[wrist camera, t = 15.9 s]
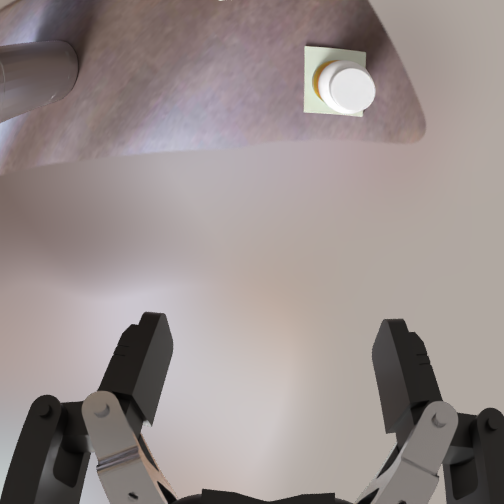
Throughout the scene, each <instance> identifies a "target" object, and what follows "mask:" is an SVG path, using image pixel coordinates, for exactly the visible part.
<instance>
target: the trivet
mask: <svg viewBox="0 0 504 504" xmlns="http://www.w3.org/2000/svg"><path fill="white" fill-rule="evenodd" d="M331 60H347V61H352V62H355V63H358V64H359V65H361V66H363V67H364V68H366V52H360V51H352V50H344V49H335V48H324V47H310V46H304V111H303V112H308V113H324V114H338V115H349V116H359V117H363V110H362V111H360V112H357V113H354V114H343V113H339V112H337V111H335V110H333V109H331V108H330V107H329V106H327V105H326V104H325V103H324V102H323V101H322V100H321V99H319V97H318V96H317V95H316V94H315V92H314V90H313V87H312V76H313V73H314V71H315V69H316V68H317V67H318V66H319V65H320V64H322V63H324V62H327V61H331Z"/></svg>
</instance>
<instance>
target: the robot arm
mask: <svg viewBox="0 0 504 504" xmlns="http://www.w3.org/2000/svg"><path fill="white" fill-rule="evenodd" d="M77 73H78V60H77V56H76V53H75V51H74V49H73V48H72V47H71V46H70V45H69V44H68V43H66V42H64V41H59V40H55V41H40V42H29V43H20V44H13V45H6V46H0V123H1V122H4V121H6V120H8V119H11V118H13V117H16V116H18V115H21V114H23V113H26V112H28V111H31V110H34V109H36V108H39V107H42V106H45V105H48V104H51V103H54V102H56V101H59V100H61V99H63V98H64V97H65V96H66V95H67V94H68V93H69V92H70V91H71V89H72V87H73V86H74V84H75V81H76V78H77ZM117 345H118V346H117V347H116V349H115V351H114V353H113V354H114V355H113V356H112V358H111V360H110V363H109V365H108V368H107V370H106V372H105V374H104V377H103V379H102V382H101V384H100V387H99V389H98V390H97V392H94V393H92V394H90V395H89V396H88V397H87V398H86V399H85V400H84V401H80V402H66V403H60V401H59V400H58V399H57V398H56V397H54V396H51V395H43V396H40V397H38V398H37V399H36V400H35V401H34V402H33V403H32V405H31V407H30V410H29V412H28V415H27V418H26V420H25V423H24V425H23V428H22V431H21V434H20V436H19V439H18V442H17V445H16V448H15V451H14V454H13V457H12V461H11V463H10V467H9V470H8V474H7V477H6V480H5V484H4V487H3V491H2V495H1V499H0V504H79V502H80V497H81V493H82V488H83V484H84V479H85V475H86V471H87V467H88V463H89V459H90V455H91V452H95V454H96V456H97V459H98V465H97V467H96V469H97V473H98V476H99V479H100V481H101V483H102V486H103V488H104V491H105V493H106V495H107V498H108V499H109V502H110V504H353V503H350V502H348V501H345V500H341V499H337V498H335V493H324V494H304V495H303V494H302V495H298V496H294V497H290V498H286V499H281V500H276V501H270V502H267V501H263V500H259V499H255V498H252V497H248V496H245V495H242V494H238V493H235V492H226V491H217V490H207V489H202V494H196V495H191V496H187V497H184V498H181V499H178V497H177V495H176V494H175V492H174V490H173V489H172V487H171V486H170V484H169V483H168V481H167V480H166V479H165V477H164V475H163V474H162V472H161V470H160V469H159V467H158V465H157V463H156V461H155V459H154V457H153V455H152V453H151V451H150V449H149V447H148V446H147V443H146V442H145V439H144V437H143V435H142V434H141V429H142V425H146V426H150V427H152V424H153V421H154V417H155V413H156V410H157V406H158V402H159V399H160V395H161V391H162V388H163V385H164V381H165V378H166V374H167V370H168V367H169V364H170V360H171V357H172V353H173V339H172V336H171V332H170V329H169V325H168V321H167V318H166V315H165V314H164V313H153V312H145V313H144V314H143V315H142V317H141V320H140V322H139V325H135V324H131V325H130V326H129V327H128V328H127V329H126V330H125V331H124V332H123V333H122V336H121V338H120V340H119V342H118V344H117ZM372 360H373V366H374V370H375V375H376V380H377V385H378V390H379V395H380V401H381V406H382V412H383V418H384V424H385V430H386V434H387V433H394V432H396V438H397V442H396V443H395V445H394V447H393V449H392V450H391V452H390V454H389V455H388V457H387V459H386V460H385V462H384V463H383V465H382V467H381V468H380V470H379V471H378V473H377V474H376V476H375V477H374V479H373V480H372V482H371V483H370V484H369V485H368V486H367V487H366V488H365V490H364V491H363V492H362V494H361V495H360V496H359V497H358V499H357V500H356V501H355V503H354V504H428V502H429V500H430V498H431V496H432V494H433V492H434V490H435V488H436V486H437V484H438V481H439V476H437V472H438V470H439V467H440V466H441V464H443V471H444V479H445V489H446V501H447V504H504V416H503V414H502V413H501V412H500V411H498V410H497V409H494V408H486V409H484V410H483V411H482V412H481V413H480V414H479V415H478V416H477V415H470V414H463V413H457V412H456V410H455V409H454V408H453V407H452V406H451V405H450V404H448V403H446V402H444V401H443V400H442V397H441V394H440V391H439V387H438V384H437V381H436V378H435V375H434V372H433V369H432V366H431V365H430V360H429V357H428V356H427V351H426V348H425V345H424V342H423V341H422V340H421V339H420V337H419V336H418V335H417V334H416V333H415V332H409V331H408V329H407V326H406V323H405V321H404V320H403V319H384V320H383V321H382V323H381V326H380V329H379V332H378V334H377V337H376V339H375V343H374V345H373V349H372Z"/></svg>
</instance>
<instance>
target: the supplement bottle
mask: <svg viewBox="0 0 504 504" xmlns="http://www.w3.org/2000/svg"><path fill="white" fill-rule="evenodd" d="M312 87H313V90H314V92H315V94H316V95H317V96H318V97H319V99H321V100H322V101H323V102H324V103H325V104H326V105H327V106H329V107H330V108H331V109H333V110H335V111H337V112H339V113H343V114H354V113H357V112H360V111H362V110H364V109H366V108H367V107H368V106H369V105H370V104H371V103H372V101H373V100H374V97H375V85H374V82H373V80H372V77H371V76H370V74H369V72H368V71H367V70H366V69H365V68H364V67H363V66H361V65H359V64H358V63H355V62H352V61H347V60H331V61H327V62H324V63H322V64H320V65H319V66H318V67H317V68H316V69H315V71H314V73H313V76H312Z"/></svg>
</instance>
